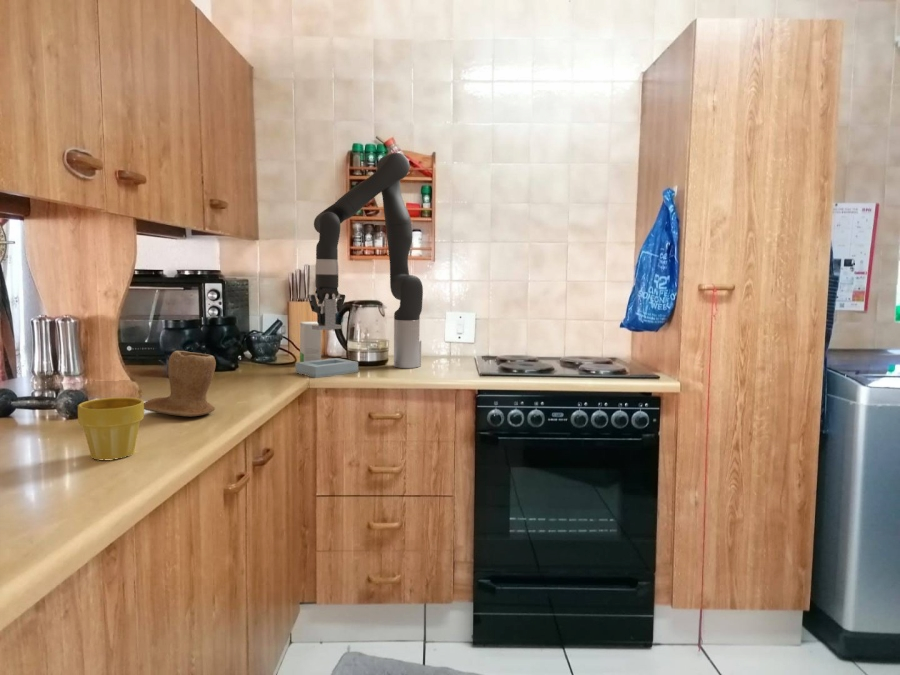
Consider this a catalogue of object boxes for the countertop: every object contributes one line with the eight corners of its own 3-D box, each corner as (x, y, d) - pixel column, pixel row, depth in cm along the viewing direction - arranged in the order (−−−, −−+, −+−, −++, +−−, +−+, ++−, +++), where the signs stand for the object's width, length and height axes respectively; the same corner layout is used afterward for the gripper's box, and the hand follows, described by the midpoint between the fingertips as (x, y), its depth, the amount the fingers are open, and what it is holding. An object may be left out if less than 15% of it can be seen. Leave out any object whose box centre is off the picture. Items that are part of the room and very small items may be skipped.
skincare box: (299, 363, 216) (299, 321, 215) (317, 362, 219) (317, 321, 217) (304, 366, 209) (303, 323, 207) (322, 365, 211) (322, 322, 210)
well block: (337, 367, 207) (337, 358, 206) (358, 371, 199) (358, 361, 198) (295, 373, 195) (295, 362, 194) (315, 377, 186) (315, 367, 186)
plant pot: (158, 448, 110) (156, 398, 108) (118, 466, 99) (116, 410, 98) (109, 445, 111) (107, 395, 110) (65, 462, 101) (62, 407, 100)
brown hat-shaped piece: (228, 412, 139) (226, 350, 138) (188, 423, 128) (186, 356, 127) (181, 405, 145) (179, 346, 144) (139, 415, 134) (137, 351, 133)
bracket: (334, 327, 200) (334, 298, 199) (341, 328, 197) (341, 299, 196) (312, 329, 193) (312, 299, 192) (318, 330, 190) (318, 299, 189)
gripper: (315, 273, 185) (315, 326, 187) (351, 273, 196) (350, 324, 197) (302, 272, 190) (302, 324, 192) (337, 273, 201) (337, 323, 203)
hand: (327, 324), depth 195 cm, fingers closed on bracket, 4 cm apart
